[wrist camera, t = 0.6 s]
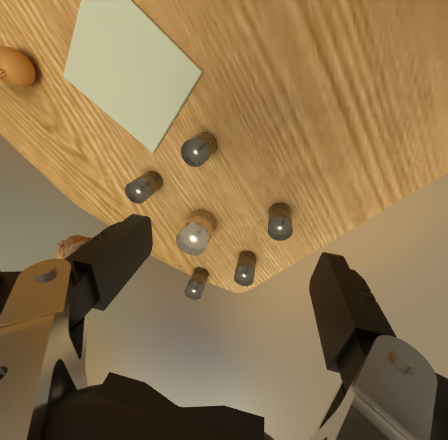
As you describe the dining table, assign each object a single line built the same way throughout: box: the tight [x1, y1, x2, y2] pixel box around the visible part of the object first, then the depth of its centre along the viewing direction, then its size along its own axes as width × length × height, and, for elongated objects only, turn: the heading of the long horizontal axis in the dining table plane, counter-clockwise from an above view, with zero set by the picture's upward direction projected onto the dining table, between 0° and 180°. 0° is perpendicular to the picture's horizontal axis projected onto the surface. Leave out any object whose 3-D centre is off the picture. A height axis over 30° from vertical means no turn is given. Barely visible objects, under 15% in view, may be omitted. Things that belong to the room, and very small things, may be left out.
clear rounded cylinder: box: [176, 209, 216, 255], centre depth 32 cm, size 4×4×6 cm
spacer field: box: [125, 132, 293, 300], centre depth 32 cm, size 23×23×5 cm
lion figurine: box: [56, 235, 93, 259], centre depth 39 cm, size 15×5×9 cm, turn 9°
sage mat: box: [63, 0, 203, 153], centre depth 25 cm, size 12×14×1 cm
